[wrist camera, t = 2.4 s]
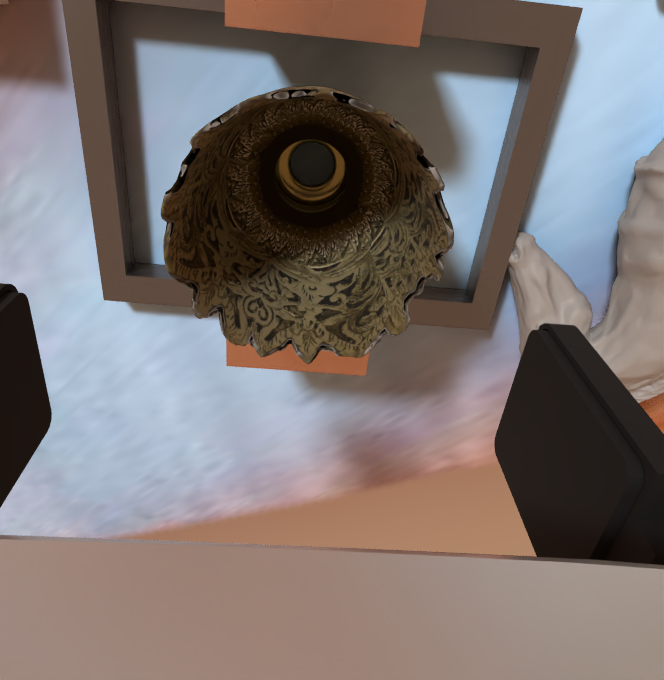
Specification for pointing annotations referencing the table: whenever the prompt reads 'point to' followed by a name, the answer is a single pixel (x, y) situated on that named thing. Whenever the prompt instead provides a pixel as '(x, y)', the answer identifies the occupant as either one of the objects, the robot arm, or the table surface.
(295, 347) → the cup
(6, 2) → the tray
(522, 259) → the seahorse
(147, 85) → the table surface
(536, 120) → the frame
